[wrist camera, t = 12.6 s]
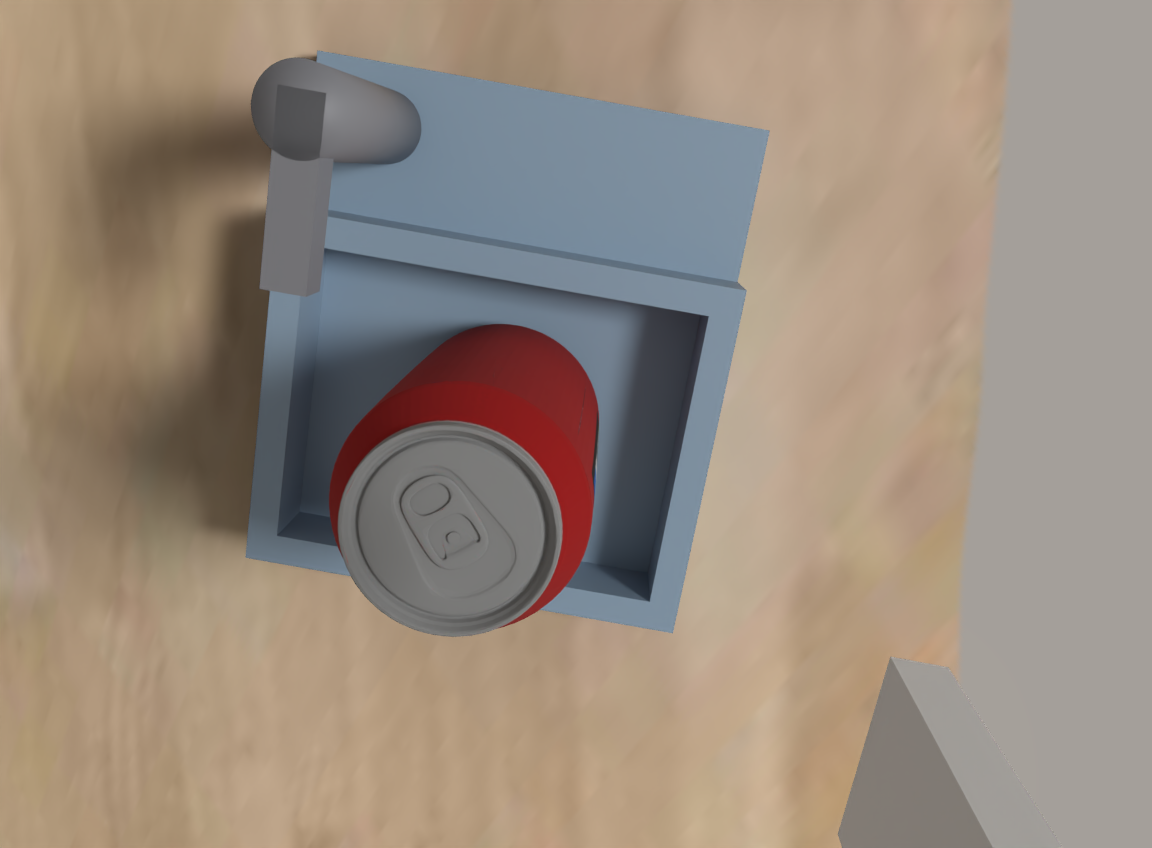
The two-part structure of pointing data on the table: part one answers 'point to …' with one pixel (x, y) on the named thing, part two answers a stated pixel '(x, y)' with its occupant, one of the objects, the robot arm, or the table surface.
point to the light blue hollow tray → (499, 289)
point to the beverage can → (471, 483)
